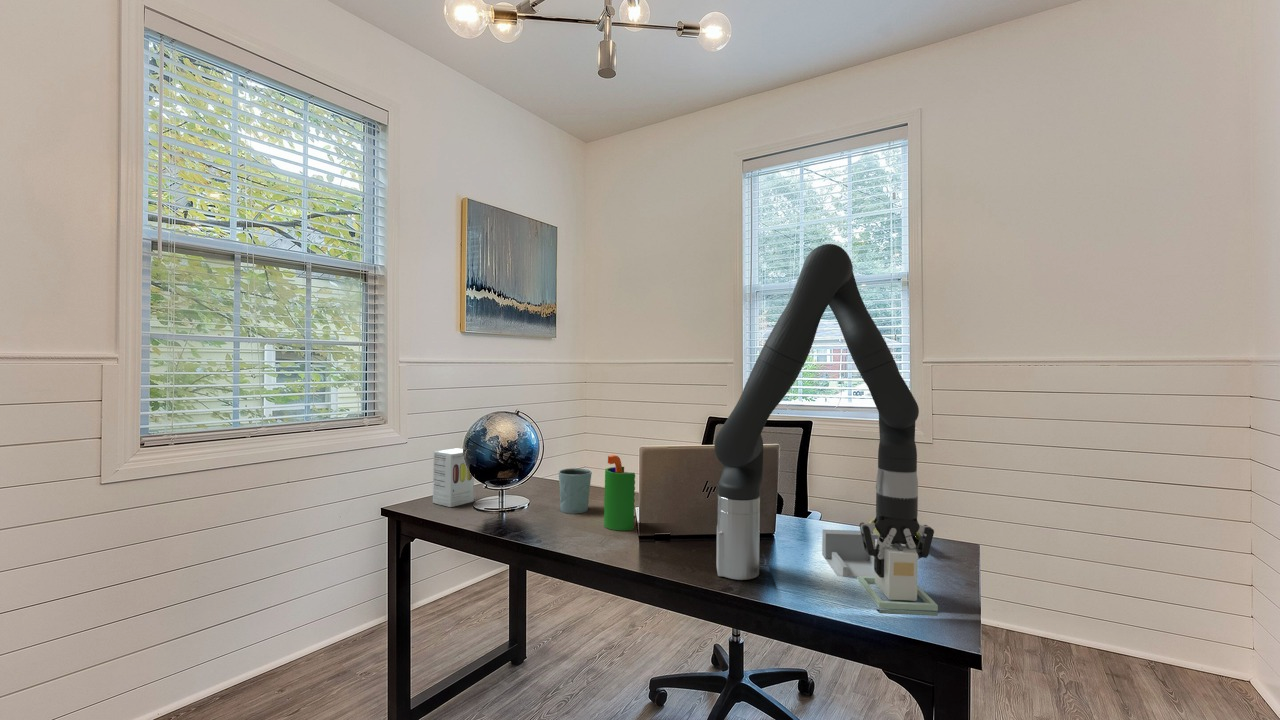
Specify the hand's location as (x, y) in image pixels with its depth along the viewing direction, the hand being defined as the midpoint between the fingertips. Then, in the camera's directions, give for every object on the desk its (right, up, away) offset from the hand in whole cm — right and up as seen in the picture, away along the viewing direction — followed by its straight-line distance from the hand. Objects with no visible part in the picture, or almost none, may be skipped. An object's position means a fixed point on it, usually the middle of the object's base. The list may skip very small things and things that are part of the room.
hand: (895, 576), depth 110 cm
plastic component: (+17, -5, +35) cm, 39 cm away
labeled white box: (0, -3, 0) cm, 3 cm away
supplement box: (-111, -3, +69) cm, 131 cm away
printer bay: (-2, -5, +14) cm, 15 cm away
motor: (-57, -4, +46) cm, 73 cm away
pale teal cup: (-71, -4, +62) cm, 95 cm away
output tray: (0, -5, 0) cm, 5 cm away
